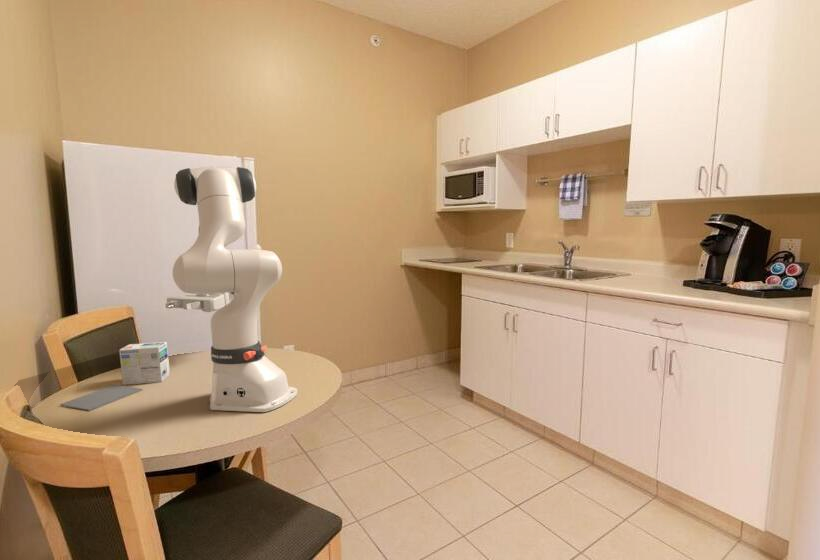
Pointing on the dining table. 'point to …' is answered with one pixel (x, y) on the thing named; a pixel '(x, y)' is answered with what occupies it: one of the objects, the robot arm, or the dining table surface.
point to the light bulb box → (144, 363)
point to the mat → (101, 397)
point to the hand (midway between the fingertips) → (176, 306)
